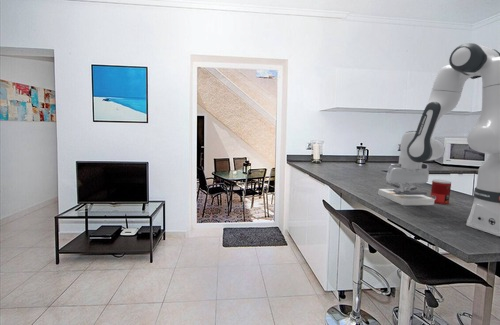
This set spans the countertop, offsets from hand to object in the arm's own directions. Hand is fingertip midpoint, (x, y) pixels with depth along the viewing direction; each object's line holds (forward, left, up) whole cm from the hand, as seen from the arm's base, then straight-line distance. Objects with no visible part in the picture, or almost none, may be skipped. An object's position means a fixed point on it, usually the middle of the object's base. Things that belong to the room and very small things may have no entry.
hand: (405, 191), depth 142 cm
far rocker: (+14, -4, -1) cm, 14 cm away
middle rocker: (+7, -4, -1) cm, 8 cm away
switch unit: (+7, -4, -6) cm, 10 cm away
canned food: (+1, -19, -6) cm, 20 cm away
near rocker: (0, -4, -1) cm, 5 cm away
